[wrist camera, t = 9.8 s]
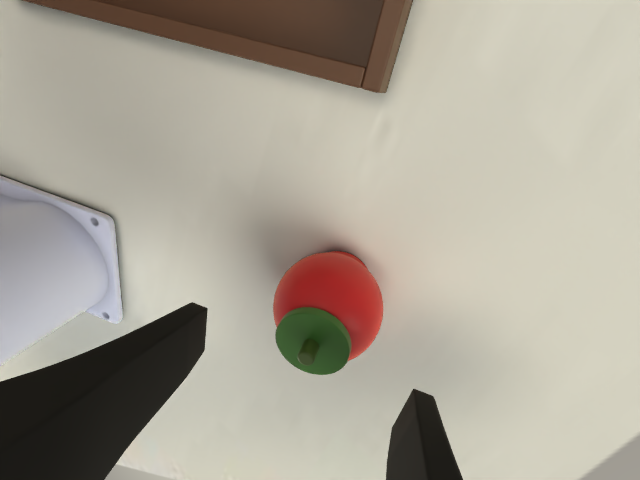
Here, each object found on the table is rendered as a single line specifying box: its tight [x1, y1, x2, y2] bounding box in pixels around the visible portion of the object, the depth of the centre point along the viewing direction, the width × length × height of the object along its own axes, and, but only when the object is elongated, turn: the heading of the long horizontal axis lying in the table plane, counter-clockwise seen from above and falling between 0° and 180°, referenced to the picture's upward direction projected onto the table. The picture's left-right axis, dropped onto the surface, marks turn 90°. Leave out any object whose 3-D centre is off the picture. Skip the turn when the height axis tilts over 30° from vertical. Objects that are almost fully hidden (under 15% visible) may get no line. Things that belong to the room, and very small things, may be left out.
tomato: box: [273, 251, 383, 375], centre depth 13 cm, size 5×5×6 cm
